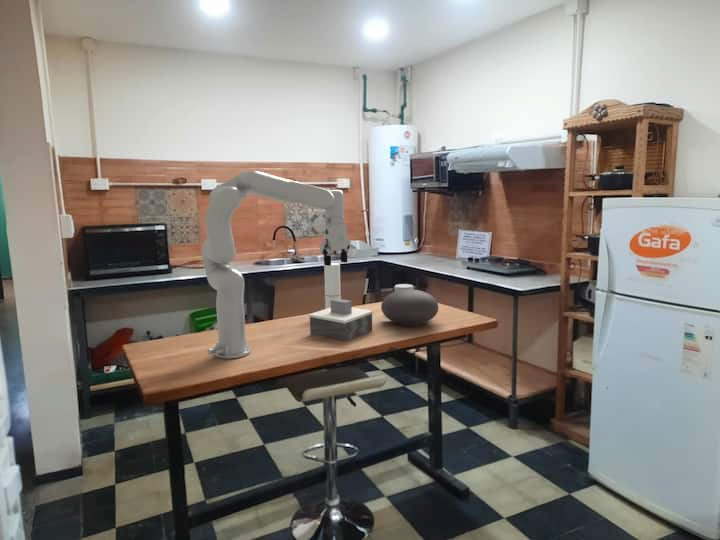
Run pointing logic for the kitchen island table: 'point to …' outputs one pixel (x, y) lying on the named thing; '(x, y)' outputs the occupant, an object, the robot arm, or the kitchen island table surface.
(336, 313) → the lid
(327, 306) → the tall white block
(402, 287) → the coffee cup
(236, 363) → the kitchen island table surface
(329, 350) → the kitchen island table surface
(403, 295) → the squat round vase
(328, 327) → the box
